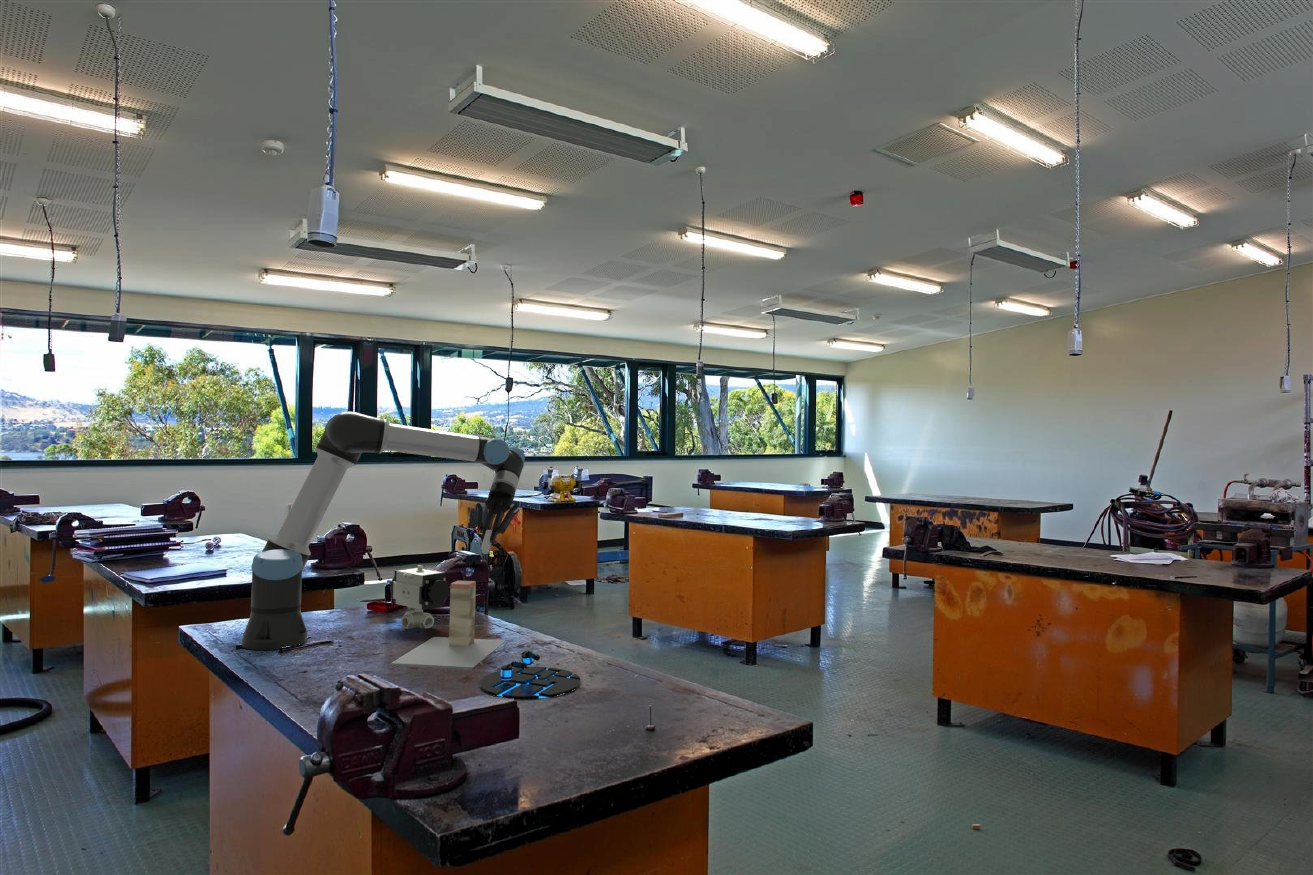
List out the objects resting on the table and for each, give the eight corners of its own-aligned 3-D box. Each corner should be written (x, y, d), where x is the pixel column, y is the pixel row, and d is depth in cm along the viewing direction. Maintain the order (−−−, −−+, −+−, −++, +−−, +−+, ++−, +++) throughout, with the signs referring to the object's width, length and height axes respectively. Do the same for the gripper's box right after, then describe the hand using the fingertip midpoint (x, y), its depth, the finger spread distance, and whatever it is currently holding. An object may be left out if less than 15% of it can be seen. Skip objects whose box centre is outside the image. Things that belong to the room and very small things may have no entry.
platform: (596, 677, 175) (597, 649, 175) (551, 706, 154) (552, 674, 154) (512, 666, 182) (513, 639, 182) (459, 693, 161) (459, 662, 162)
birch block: (455, 641, 201) (457, 580, 201) (474, 642, 200) (475, 581, 201) (448, 646, 196) (450, 583, 196) (467, 646, 195) (469, 584, 196)
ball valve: (384, 625, 219) (386, 564, 219) (409, 621, 226) (410, 561, 226) (424, 635, 209) (426, 570, 209) (449, 630, 215) (450, 567, 216)
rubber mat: (433, 639, 205) (433, 636, 205) (505, 642, 203) (505, 640, 203) (390, 665, 179) (390, 662, 179) (473, 669, 177) (473, 667, 177)
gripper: (526, 497, 234) (509, 559, 217) (485, 496, 235) (465, 558, 218) (522, 481, 229) (504, 543, 212) (480, 480, 230) (459, 541, 213)
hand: (484, 550), depth 215 cm, fingers closed
